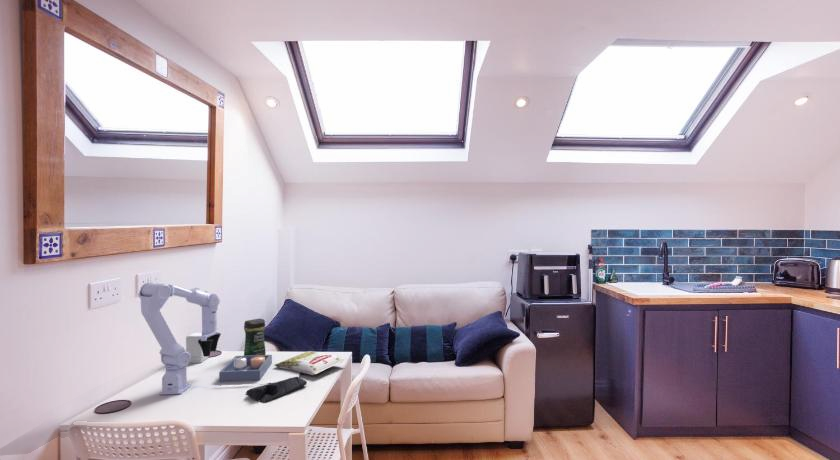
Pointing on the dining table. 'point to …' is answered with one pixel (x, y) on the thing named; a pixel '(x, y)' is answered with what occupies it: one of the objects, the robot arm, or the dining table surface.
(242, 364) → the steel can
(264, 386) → the dark slate chunk
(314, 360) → the frozen beans
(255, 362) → the peach round blob
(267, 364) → the slate blue tote
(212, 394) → the dining table surface
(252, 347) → the coffee jar
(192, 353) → the supplement box
